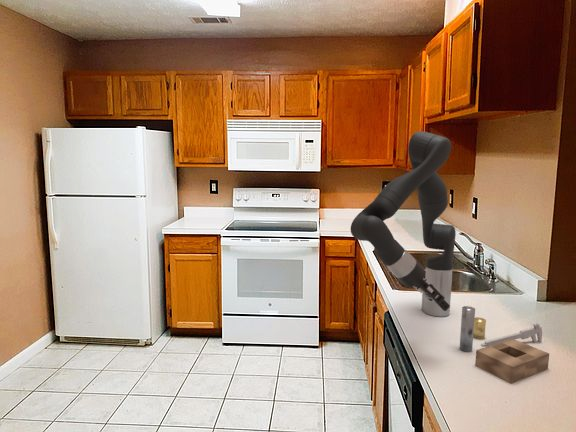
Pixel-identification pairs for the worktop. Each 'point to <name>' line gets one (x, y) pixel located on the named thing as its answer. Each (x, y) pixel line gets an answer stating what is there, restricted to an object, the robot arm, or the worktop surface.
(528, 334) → the caliper
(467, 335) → the long pin
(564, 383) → the worktop surface
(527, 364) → the hole block
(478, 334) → the short pin
